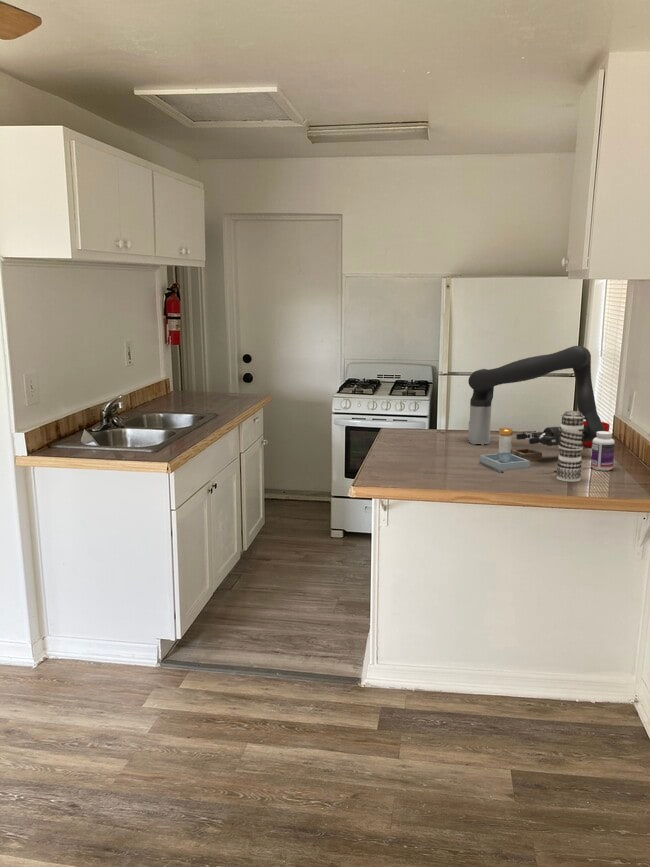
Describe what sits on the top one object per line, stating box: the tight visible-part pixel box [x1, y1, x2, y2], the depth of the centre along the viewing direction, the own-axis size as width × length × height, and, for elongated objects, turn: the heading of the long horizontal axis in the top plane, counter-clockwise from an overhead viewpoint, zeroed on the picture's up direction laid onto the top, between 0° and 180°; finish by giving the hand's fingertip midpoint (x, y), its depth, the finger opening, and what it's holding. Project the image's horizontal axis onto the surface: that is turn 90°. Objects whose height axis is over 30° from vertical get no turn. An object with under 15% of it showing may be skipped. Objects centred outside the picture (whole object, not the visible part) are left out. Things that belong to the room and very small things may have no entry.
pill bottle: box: [590, 431, 616, 472], centre depth 275 cm, size 8×8×14 cm
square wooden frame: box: [511, 447, 543, 462], centre depth 289 cm, size 9×9×4 cm
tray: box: [479, 453, 531, 474], centre depth 280 cm, size 15×13×4 cm
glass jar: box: [497, 427, 514, 463], centre depth 279 cm, size 5×5×14 cm
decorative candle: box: [556, 410, 585, 483], centre depth 261 cm, size 9×9×25 cm
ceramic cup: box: [582, 420, 610, 448], centre depth 313 cm, size 13×17×10 cm
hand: (523, 439), depth 281 cm, fingers open, 8 cm apart
